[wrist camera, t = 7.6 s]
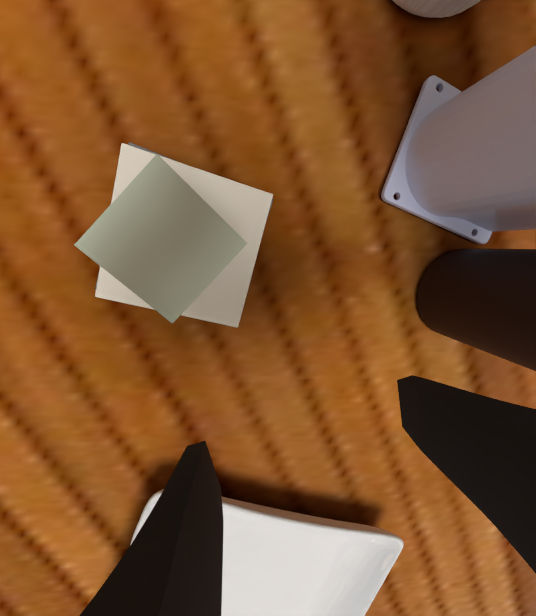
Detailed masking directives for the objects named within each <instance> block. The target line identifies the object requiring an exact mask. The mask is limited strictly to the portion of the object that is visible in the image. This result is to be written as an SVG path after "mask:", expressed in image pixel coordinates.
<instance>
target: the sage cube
mask: <svg viewBox="0 0 536 616" xmlns="http://www.w3.org/2000/svg"><path fill="white" fill-rule="evenodd" d="M246 244H247V242H246V241H245V240H244V239H243V238H242V237H241V236H240V235H239V234H238V233H237V232H236V231H235V230H234V229H233V228H232V227H231V226H230V225H228V224H227V223H226V222H225V221H224V220H223V219H222V218H221V217H220V216H219V215H218V214H217V213H216V212H215V211H214V210H213V209H212V208H211V207H210V206H209V205H208V204H207V203H206V202H205V201H204V200H203V199H202V198H201V197H200V196H199V195H198V194H197V193H196V192H195V191H194V190H193V189H192V188H191V187H190V186H189V185H188V184H187V183H186V182H185V181H184V180H183V179H182V178H181V177H180V176H179V175H178V174H177V173H176V172H175V171H174V170H173V169H172V168H171V167H170V166H169V165H168V164H167V163H166V162H165V161H164V160H163V159H162V158H161V157H160V156H159V155H158V154H156V155H155V156H154V158H153V159H152V160H151V161H150V162H149V163H148V164H147V165H146V166H145V167H144V169H143V170H142V171H141V172H140V173H139V174H138V175H137V176H136V177H135V178H134V180H133V181H132V182H131V183H130V184H129V185H128V186H127V187H126V188H125V189H124V191H123V192H122V193H121V194H120V195H119V196H118V197H117V198H116V199H115V201H114V202H113V203H112V204H111V205H110V206H109V207H108V208H107V209H106V210H105V212H104V213H103V214H102V215H101V216H100V217H99V218H98V219H97V220H96V221H95V223H94V224H93V225H92V226H91V227H90V228H89V229H88V230H87V231H86V232H85V234H84V235H83V236H82V237H81V238H80V239H79V240H78V241H77V242H76V244H75V246H76V247H77V248H78V249H80V250H81V251H82V252H83V253H85V254H86V255H87V256H88V257H90V258H91V259H92V260H93V261H95V262H96V263H97V264H98V265H100V266H101V267H102V268H103V269H105V270H106V271H107V272H108V273H110V274H111V275H112V276H113V277H115V278H116V279H117V280H118V281H120V282H121V283H122V284H123V285H125V286H126V287H127V288H128V289H130V290H131V291H132V292H133V293H135V294H136V295H137V296H138V297H140V298H141V299H142V300H143V301H145V302H146V303H147V304H148V305H150V306H151V307H152V308H153V309H155V310H156V311H157V312H158V313H160V314H161V315H162V316H163V317H165V318H166V319H167V320H168V321H170V322H171V323H172V324H173V323H174V321H175V320H176V319H177V318H178V317H179V316H180V315H181V314H182V313H183V312H184V311H185V310H186V309H187V308H188V306H189V305H190V304H191V303H192V302H193V301H194V300H195V299H196V298H197V297H198V296H199V295H200V294H201V293H202V292H203V290H204V289H205V288H206V287H207V286H208V285H209V284H210V283H211V282H212V281H213V280H214V279H215V278H216V277H217V275H218V274H219V273H220V272H221V271H222V270H223V269H224V268H225V267H226V266H227V265H228V264H229V263H230V262H231V260H232V259H233V258H234V257H235V256H236V255H237V254H238V253H239V252H240V251H241V250H242V249H243V248H244V247H245V245H246Z"/></svg>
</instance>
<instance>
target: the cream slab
mask: <svg viewBox="0 0 536 616" xmlns="http://www.w3.org/2000/svg"><path fill="white" fill-rule="evenodd" d="M155 155H156V154H153V153H150V152H147V151H144V150H141V149H138V148H135V147H133V146H130V145H127V144H124V143H122V144H121V150H120V156H119V162H118V167H117V173H116V179H115V185H114V190H113V196H112V202H111V204H112V203H113V202H114V201H115V199H116V198H117V197H118V196H119V195H120V194H121V193H122V192H123V191H124V189H125V188H126V187H127V186H128V185H129V184H130V183H131V182H132V181H133V180H134V178H135V177H136V176H137V175H138V174H139V173H140V172H141V171H142V170H143V169H144V167H145V166H146V165H147V164H148V163H149V162H150V161H151V160H152V159H153V158H154V156H155ZM160 157H161V158H162V159H163V160H164V161H165V162H166V163H167V164H168V165H169V166H170V167H171V168H172V169H173V170H174V171H175V172H176V173H177V174H178V175H179V176H180V177H181V178H182V179H183V180H184V181H185V182H186V183H187V184H188V185H189V186H190V187H191V188H192V189H193V190H194V191H195V192H196V193H197V194H198V195H199V196H200V197H201V198H202V199H203V200H204V201H205V202H206V203H207V204H208V205H209V206H210V207H211V208H212V209H213V210H214V211H215V212H216V213H217V214H218V215H219V216H220V217H221V218H222V219H223V220H224V221H225V222H226V223H227V224H228V225H230V226H231V227H232V228H233V229H234V230H235V231H236V232H237V233H238V234H239V235H240V236H241V237H242V238H243V239H244V240H245V241H246V242H247V244H246V245H245V247H244V248H243V249H242V250H241V251H240V252H239V253H238V254H237V255H236V256H235V257H234V258H233V259H232V260H231V262H230V263H229V264H228V265H227V266H226V267H225V268H224V269H223V270H222V271H221V272H220V273H219V274H218V275H217V277H216V278H215V279H214V280H213V281H212V282H211V283H210V284H209V285H208V286H207V287H206V288H205V289H204V290H203V292H202V293H201V294H200V295H199V296H198V297H197V298H196V299H195V300H194V301H193V302H192V303H191V304H190V305H189V306H188V308H187V309H186V310H185V311H184V312H183V313H182V314H181V315H182V316H186V317H191V318H195V319H200V320H205V321H209V322H214V323H218V324H223V325H228V326H232V327H237V328H238V326H239V322H240V318H241V314H242V311H243V307H244V303H245V299H246V295H247V292H248V288H249V284H250V280H251V277H252V273H253V269H254V265H255V261H256V258H257V254H258V250H259V246H260V243H261V239H262V235H263V231H264V227H265V224H266V220H267V216H268V212H269V209H270V205H271V201H272V197H273V194H271V193H268V192H265V191H262V190H259V189H256V188H253V187H250V186H247V185H244V184H241V183H238V182H235V181H232V180H229V179H227V178H224V177H221V176H218V175H215V174H212V173H209V172H206V171H203V170H200V169H197V168H194V167H191V166H188V165H185V164H182V163H180V162H177V161H174V160H171V159H168V158H165V157H162V156H160ZM95 297H99V298H104V299H108V300H113V301H117V302H122V303H126V304H131V305H136V306H140V307H145V308H149V309H153V308H152V307H151V306H150V305H148V304H147V303H146V302H145V301H143V300H142V299H141V298H140V297H138V296H137V295H136V294H135V293H133V292H132V291H131V290H130V289H128V288H127V287H126V286H125V285H123V284H122V283H121V282H120V281H118V280H117V279H116V278H115V277H113V276H112V275H111V274H110V273H108V272H107V271H106V270H105V269H103V268H102V267H101V266H100V271H99V276H98V282H97V288H96V294H95ZM154 310H155V309H154Z"/></svg>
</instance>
